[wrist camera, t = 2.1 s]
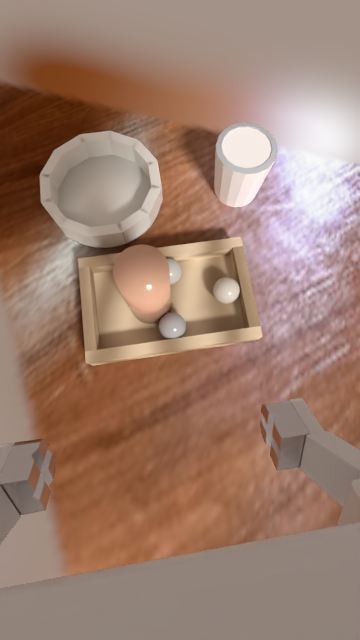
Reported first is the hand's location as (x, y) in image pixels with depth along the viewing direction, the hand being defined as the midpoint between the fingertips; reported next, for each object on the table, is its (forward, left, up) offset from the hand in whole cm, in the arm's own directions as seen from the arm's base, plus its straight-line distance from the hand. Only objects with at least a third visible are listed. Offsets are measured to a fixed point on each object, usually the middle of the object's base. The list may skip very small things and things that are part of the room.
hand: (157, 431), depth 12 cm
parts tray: (-1, -12, -23) cm, 26 cm away
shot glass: (-12, -26, -23) cm, 37 cm away
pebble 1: (-1, -15, -20) cm, 25 cm away
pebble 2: (0, -9, -20) cm, 22 cm away
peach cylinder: (+1, -12, -22) cm, 25 cm away
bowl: (+5, -27, -23) cm, 36 cm away
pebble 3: (-8, -12, -22) cm, 26 cm away
